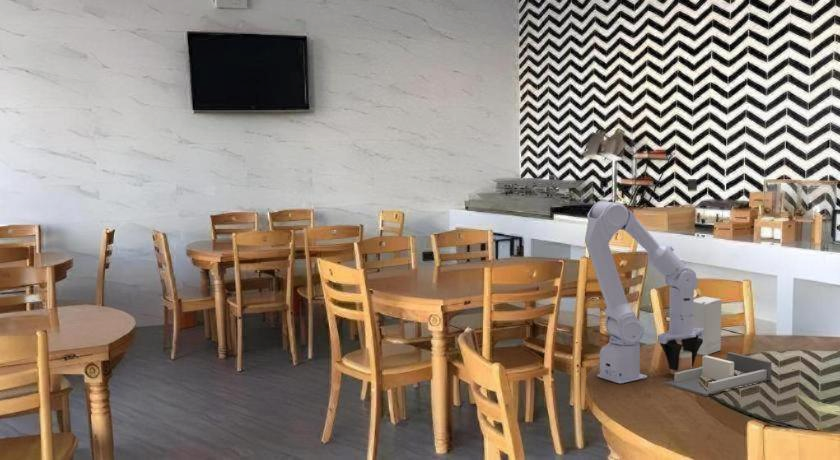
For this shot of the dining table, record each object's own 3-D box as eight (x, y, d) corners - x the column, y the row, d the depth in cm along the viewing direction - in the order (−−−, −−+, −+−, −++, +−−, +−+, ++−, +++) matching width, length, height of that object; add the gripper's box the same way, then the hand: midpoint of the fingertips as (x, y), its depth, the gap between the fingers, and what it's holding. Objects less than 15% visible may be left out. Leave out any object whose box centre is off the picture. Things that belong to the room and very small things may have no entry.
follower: (729, 383, 187) (729, 363, 187) (702, 376, 194) (702, 356, 194) (733, 382, 188) (734, 362, 188) (706, 375, 195) (706, 355, 194)
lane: (706, 396, 180) (706, 377, 180) (665, 384, 191) (665, 365, 190) (772, 379, 192) (772, 361, 192) (730, 369, 202) (731, 351, 202)
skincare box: (702, 347, 226) (702, 295, 224) (722, 351, 221) (722, 298, 220) (686, 352, 220) (686, 299, 219) (705, 356, 216) (706, 302, 214)
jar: (682, 377, 196) (682, 355, 196) (666, 372, 201) (666, 351, 200) (696, 374, 199) (696, 352, 198) (680, 369, 203) (680, 348, 203)
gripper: (673, 320, 191) (673, 375, 193) (714, 313, 199) (713, 366, 200) (651, 316, 197) (651, 369, 199) (691, 309, 205) (691, 360, 206)
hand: (681, 367), depth 200 cm, fingers closed on jar, 5 cm apart
